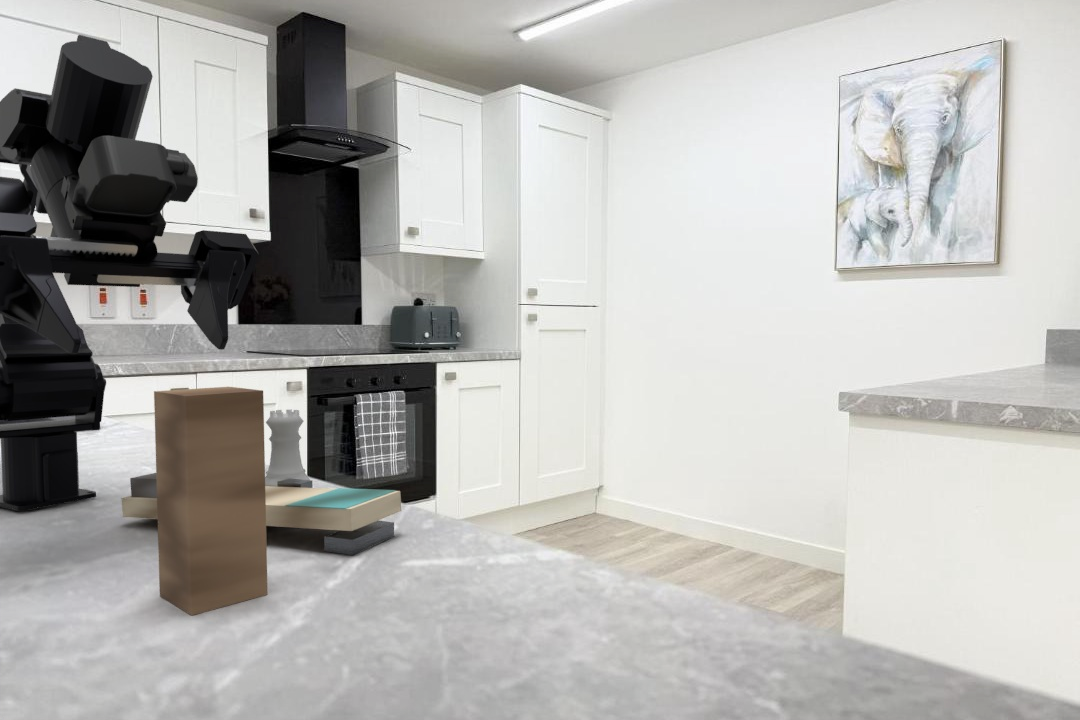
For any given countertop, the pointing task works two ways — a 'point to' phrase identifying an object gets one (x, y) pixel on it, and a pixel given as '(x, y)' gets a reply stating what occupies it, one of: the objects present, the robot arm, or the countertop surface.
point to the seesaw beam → (290, 505)
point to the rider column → (210, 496)
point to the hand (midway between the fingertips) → (155, 346)
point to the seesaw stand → (349, 539)
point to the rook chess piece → (284, 447)
